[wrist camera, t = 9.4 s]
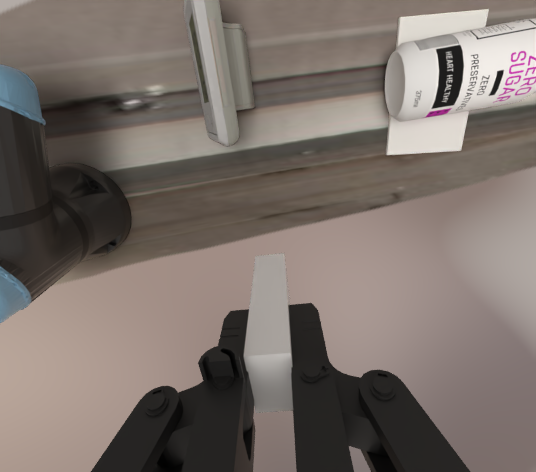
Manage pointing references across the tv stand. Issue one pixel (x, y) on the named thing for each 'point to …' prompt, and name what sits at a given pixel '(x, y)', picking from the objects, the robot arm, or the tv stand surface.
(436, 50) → the supplement can
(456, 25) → the mat
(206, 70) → the digital clock
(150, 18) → the tv stand surface
